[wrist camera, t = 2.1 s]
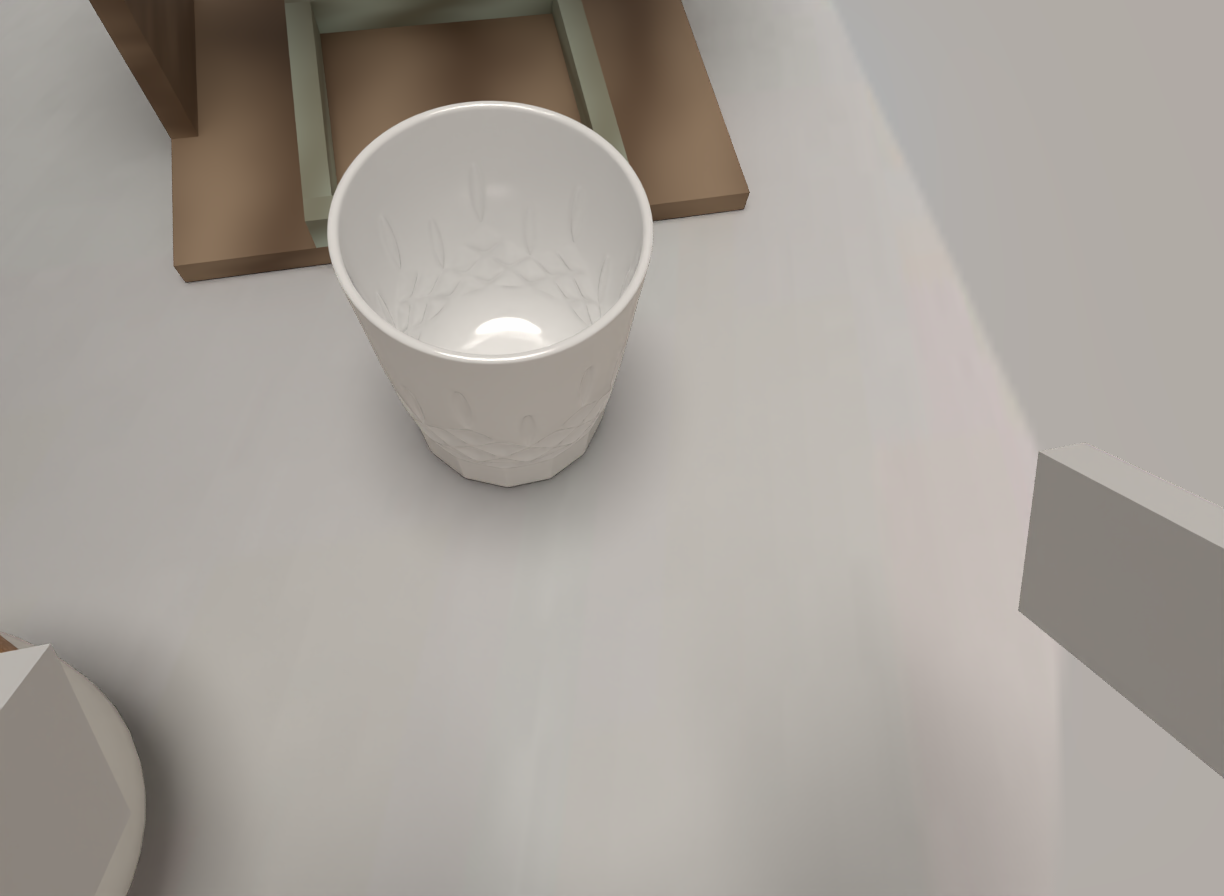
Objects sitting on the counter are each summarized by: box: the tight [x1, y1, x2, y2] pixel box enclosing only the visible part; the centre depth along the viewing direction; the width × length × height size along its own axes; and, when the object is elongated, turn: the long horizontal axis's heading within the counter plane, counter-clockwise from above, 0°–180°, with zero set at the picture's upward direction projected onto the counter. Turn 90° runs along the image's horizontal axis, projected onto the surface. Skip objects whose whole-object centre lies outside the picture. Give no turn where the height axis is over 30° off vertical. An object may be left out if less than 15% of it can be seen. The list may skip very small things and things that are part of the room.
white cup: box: [327, 101, 653, 487], centre depth 23 cm, size 8×8×10 cm
